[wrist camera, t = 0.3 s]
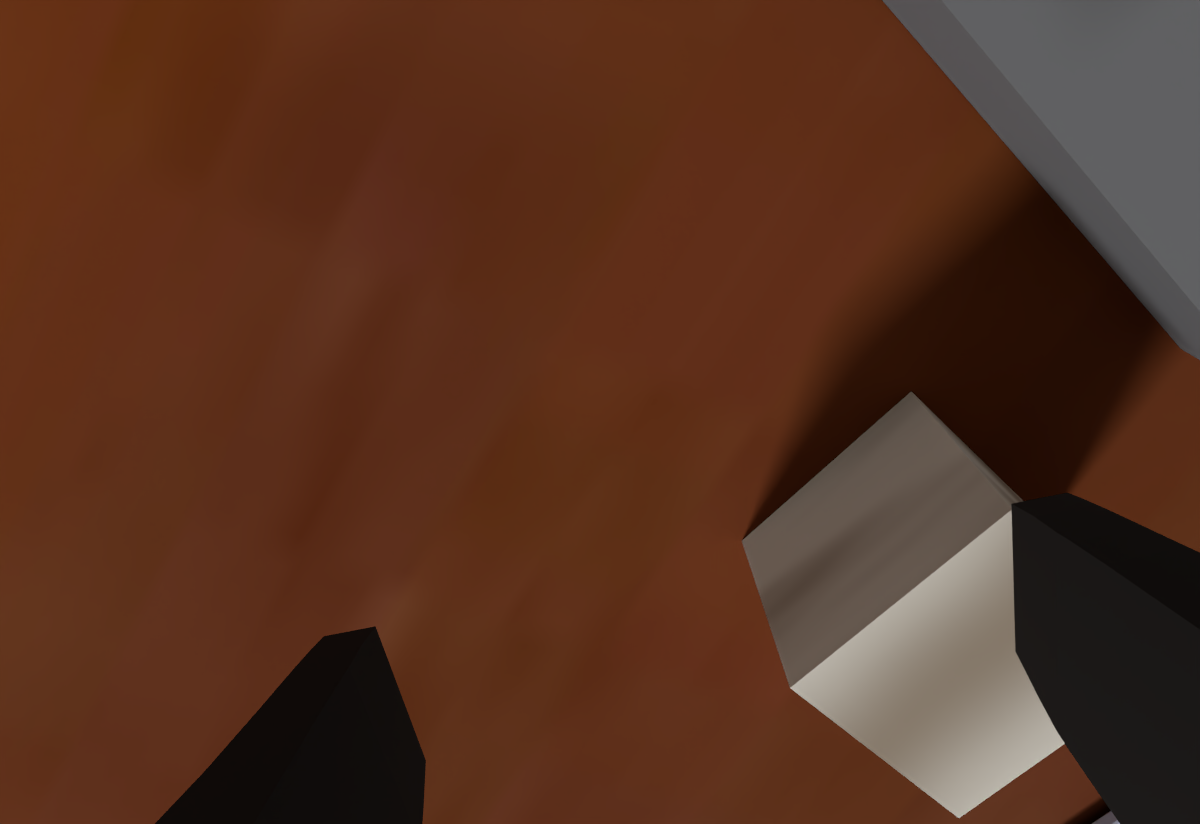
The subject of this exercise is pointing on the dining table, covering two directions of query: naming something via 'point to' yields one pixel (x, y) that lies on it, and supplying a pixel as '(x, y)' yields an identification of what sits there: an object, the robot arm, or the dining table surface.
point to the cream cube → (907, 607)
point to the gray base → (1093, 123)
